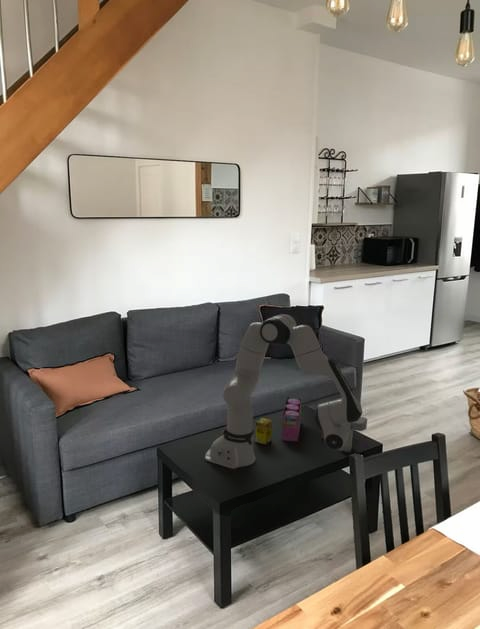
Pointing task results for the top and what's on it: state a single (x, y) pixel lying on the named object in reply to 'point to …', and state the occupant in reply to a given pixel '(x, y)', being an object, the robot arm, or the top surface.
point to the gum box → (291, 420)
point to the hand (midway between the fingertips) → (344, 413)
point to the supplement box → (263, 431)
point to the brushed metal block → (348, 443)
